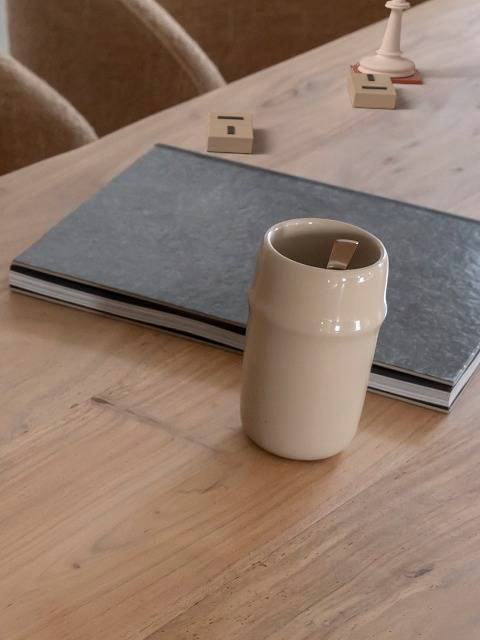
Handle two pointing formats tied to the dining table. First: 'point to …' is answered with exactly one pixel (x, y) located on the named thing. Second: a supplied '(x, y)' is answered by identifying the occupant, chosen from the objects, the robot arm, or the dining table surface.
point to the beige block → (371, 90)
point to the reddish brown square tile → (410, 79)
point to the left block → (229, 132)
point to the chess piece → (390, 48)
